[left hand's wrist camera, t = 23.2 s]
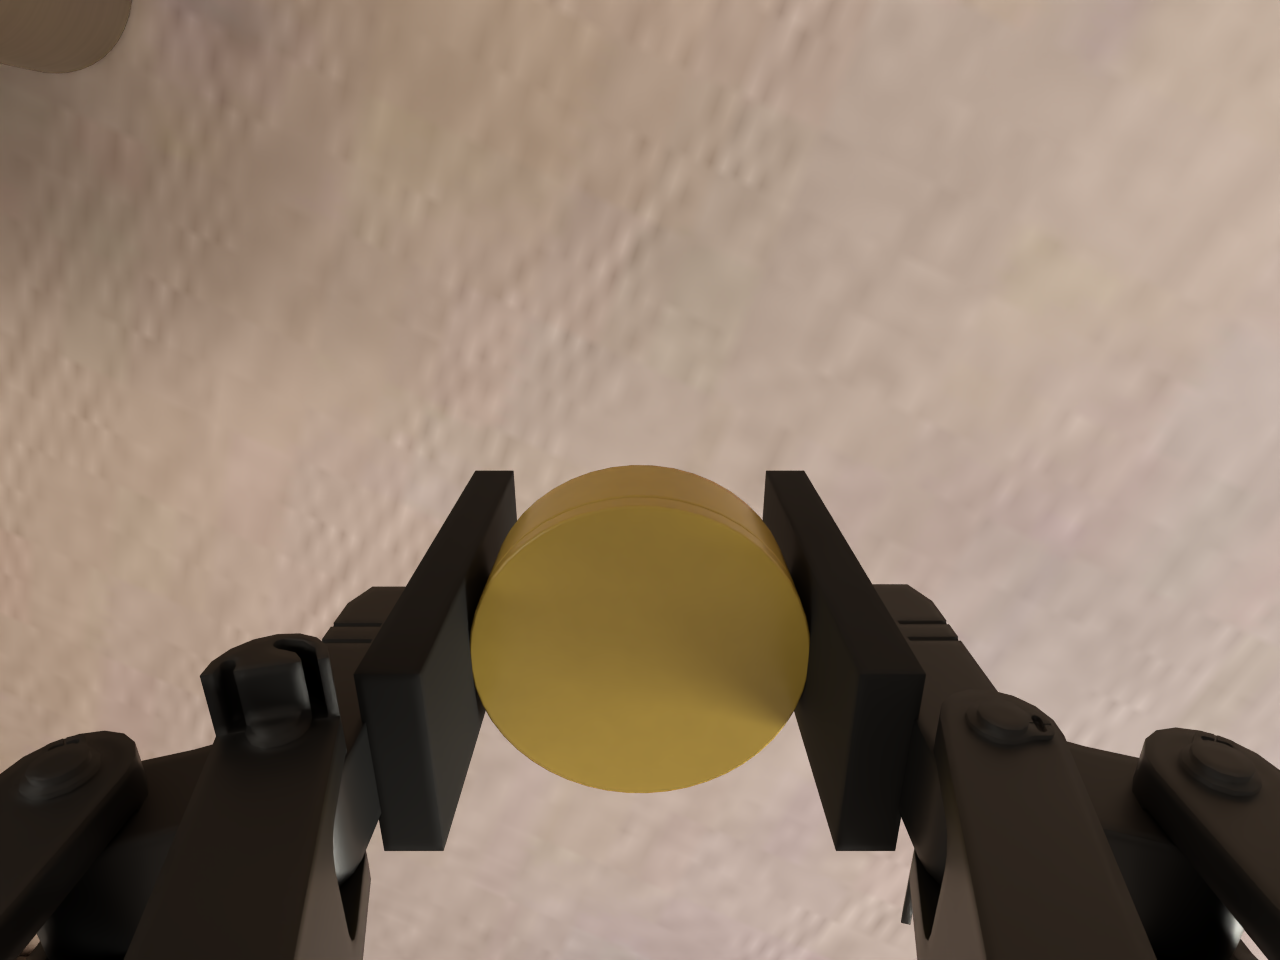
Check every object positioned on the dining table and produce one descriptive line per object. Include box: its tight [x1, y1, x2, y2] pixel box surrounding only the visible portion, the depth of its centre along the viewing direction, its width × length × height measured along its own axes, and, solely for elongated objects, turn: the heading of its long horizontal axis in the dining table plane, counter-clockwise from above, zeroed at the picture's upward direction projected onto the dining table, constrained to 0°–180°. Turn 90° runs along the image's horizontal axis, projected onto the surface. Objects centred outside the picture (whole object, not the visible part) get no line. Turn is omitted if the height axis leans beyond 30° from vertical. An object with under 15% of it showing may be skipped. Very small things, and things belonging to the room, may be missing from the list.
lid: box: [470, 465, 810, 793], centre depth 11 cm, size 5×5×2 cm
